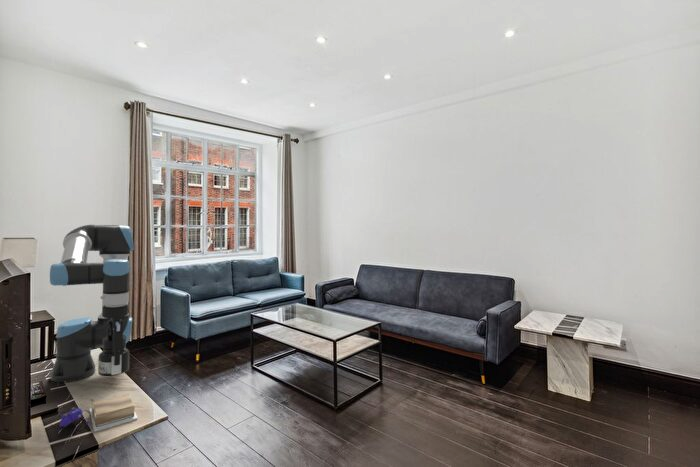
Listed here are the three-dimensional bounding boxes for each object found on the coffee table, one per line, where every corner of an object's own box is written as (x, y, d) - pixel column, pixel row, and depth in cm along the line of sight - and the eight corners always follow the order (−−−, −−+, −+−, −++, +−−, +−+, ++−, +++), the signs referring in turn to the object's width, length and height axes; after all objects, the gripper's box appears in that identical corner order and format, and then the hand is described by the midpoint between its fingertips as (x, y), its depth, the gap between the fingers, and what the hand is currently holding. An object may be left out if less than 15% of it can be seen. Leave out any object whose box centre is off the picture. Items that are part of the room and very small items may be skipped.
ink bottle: (92, 372, 120) (92, 338, 120) (119, 364, 128) (120, 331, 127) (107, 379, 115) (108, 343, 115) (135, 370, 123) (135, 336, 123)
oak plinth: (91, 411, 123) (92, 402, 122) (128, 401, 130) (128, 393, 130) (95, 425, 114) (95, 416, 114) (134, 414, 122) (134, 405, 121)
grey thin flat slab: (89, 410, 124) (89, 408, 124) (128, 400, 132) (128, 398, 132) (94, 431, 112) (94, 429, 112) (137, 419, 120) (137, 417, 120)
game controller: (49, 413, 115) (86, 398, 121) (55, 438, 114) (92, 421, 121) (47, 418, 107) (87, 402, 114) (53, 444, 107) (93, 426, 113)
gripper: (98, 299, 126) (97, 361, 127) (106, 313, 110) (105, 383, 111) (123, 297, 131) (121, 356, 132) (134, 309, 115) (132, 377, 116)
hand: (114, 368), depth 122 cm, fingers closed on ink bottle, 9 cm apart
